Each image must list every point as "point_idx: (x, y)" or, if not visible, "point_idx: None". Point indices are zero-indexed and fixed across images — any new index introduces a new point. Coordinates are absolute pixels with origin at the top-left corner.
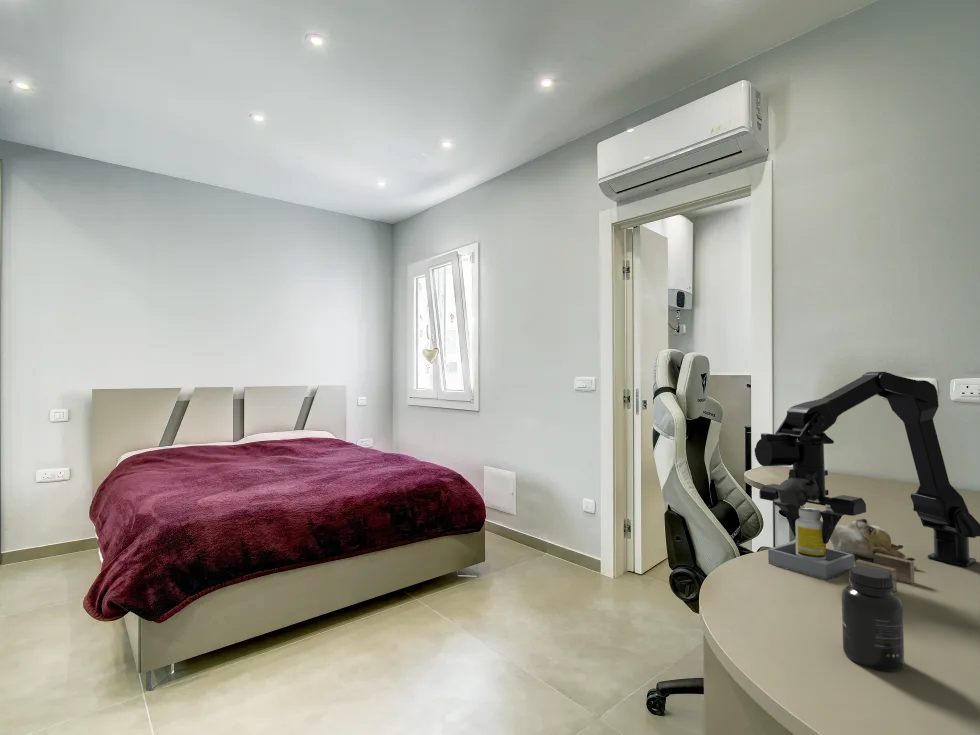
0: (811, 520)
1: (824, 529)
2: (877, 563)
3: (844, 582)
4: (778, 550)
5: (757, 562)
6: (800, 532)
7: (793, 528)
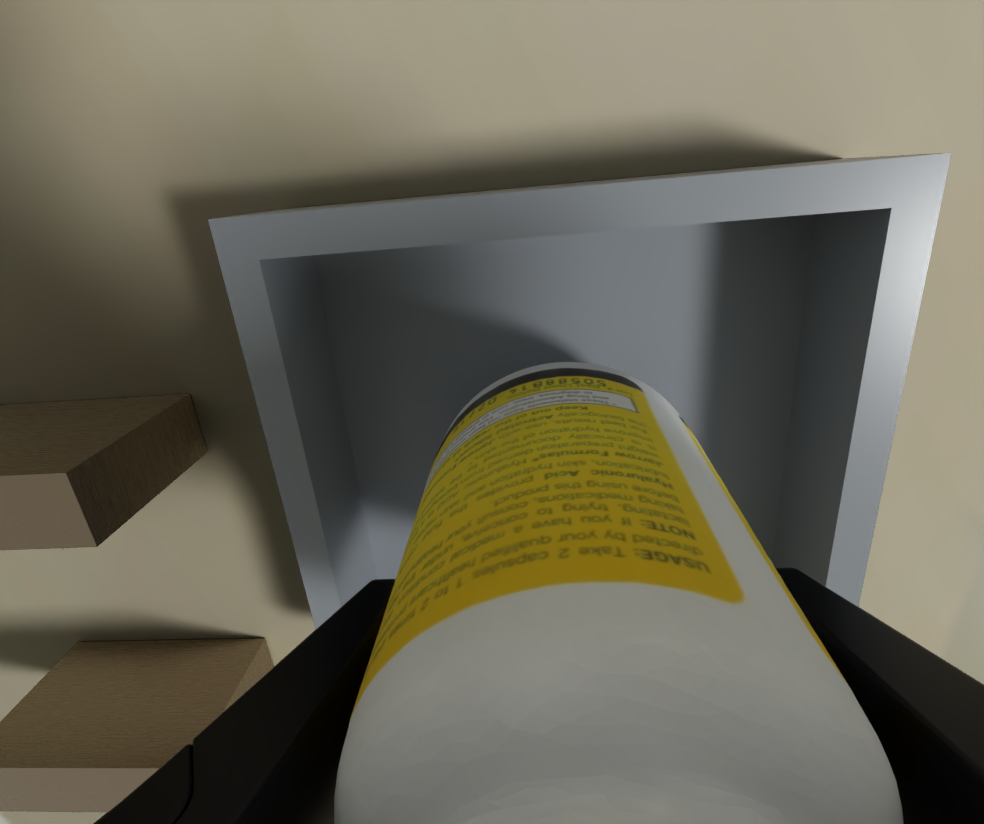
0: None
1: (268, 730)
2: (204, 705)
3: (210, 312)
4: (852, 325)
5: (948, 68)
6: (645, 512)
7: (853, 637)
